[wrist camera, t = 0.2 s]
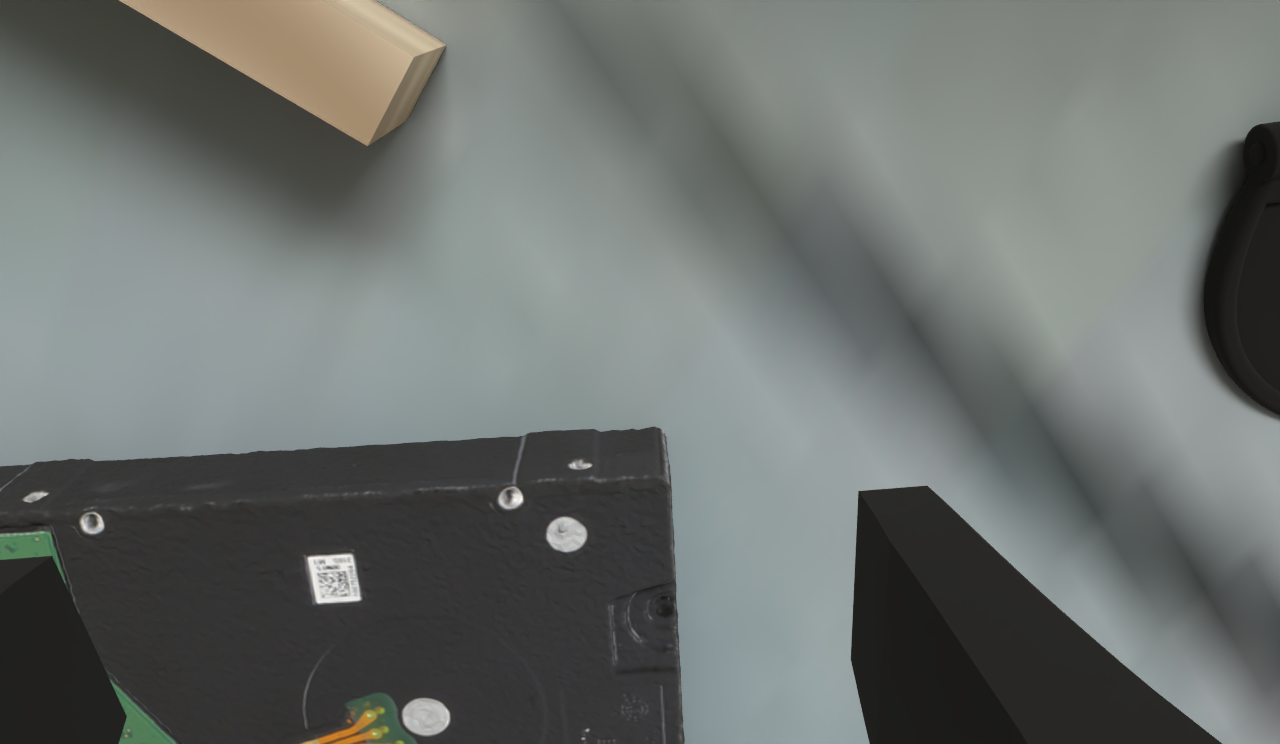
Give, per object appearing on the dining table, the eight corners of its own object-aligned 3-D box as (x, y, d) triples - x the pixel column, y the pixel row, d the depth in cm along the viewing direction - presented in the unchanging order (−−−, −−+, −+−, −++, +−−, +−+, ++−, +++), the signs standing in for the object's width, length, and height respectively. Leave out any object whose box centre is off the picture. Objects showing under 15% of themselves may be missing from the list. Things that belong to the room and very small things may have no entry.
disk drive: (662, 403, 21) (-62, 459, 20) (671, 464, 18) (-159, 528, 18) (688, 796, 24) (75, 844, 24) (698, 893, 22) (12, 948, 22)
